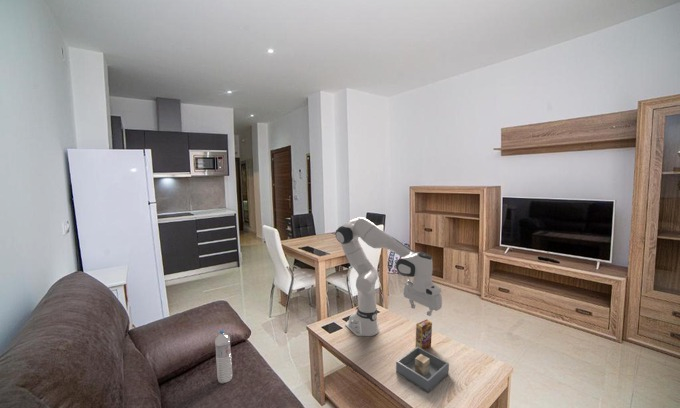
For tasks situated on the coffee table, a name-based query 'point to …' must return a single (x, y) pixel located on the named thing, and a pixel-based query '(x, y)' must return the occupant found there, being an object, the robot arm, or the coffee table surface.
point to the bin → (426, 383)
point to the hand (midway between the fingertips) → (420, 311)
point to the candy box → (423, 334)
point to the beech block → (422, 365)
